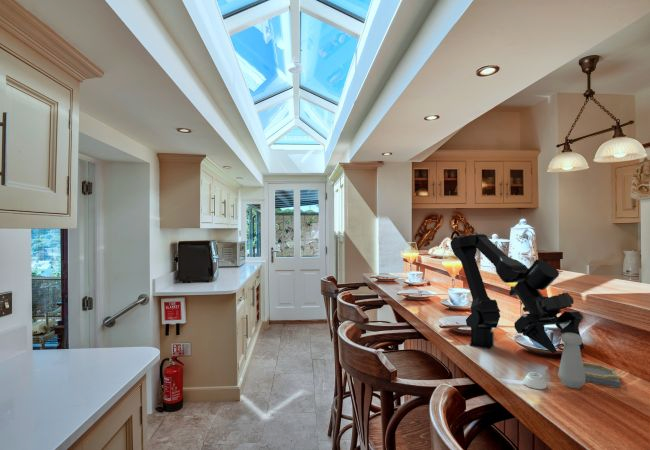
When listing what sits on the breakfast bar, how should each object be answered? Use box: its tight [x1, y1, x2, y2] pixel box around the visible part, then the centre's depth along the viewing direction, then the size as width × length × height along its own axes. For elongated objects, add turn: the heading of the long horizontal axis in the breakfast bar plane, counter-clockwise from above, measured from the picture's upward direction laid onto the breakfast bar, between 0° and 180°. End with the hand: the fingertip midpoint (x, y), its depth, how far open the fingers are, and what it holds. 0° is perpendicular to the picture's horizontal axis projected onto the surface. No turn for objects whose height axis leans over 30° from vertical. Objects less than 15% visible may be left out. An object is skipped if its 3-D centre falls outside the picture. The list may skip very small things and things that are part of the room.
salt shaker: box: [557, 333, 586, 390], centre depth 91 cm, size 6×6×13 cm
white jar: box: [522, 371, 547, 390], centre depth 90 cm, size 5×3×5 cm
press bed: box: [583, 361, 621, 389], centre depth 96 cm, size 10×10×2 cm
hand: (569, 350), depth 91 cm, fingers open, 9 cm apart
